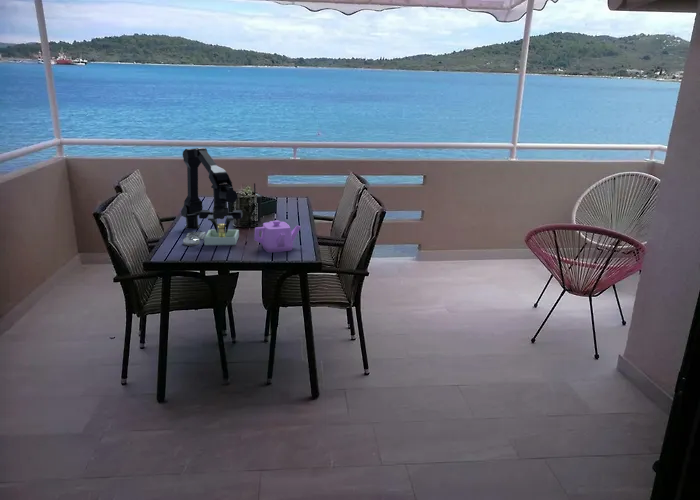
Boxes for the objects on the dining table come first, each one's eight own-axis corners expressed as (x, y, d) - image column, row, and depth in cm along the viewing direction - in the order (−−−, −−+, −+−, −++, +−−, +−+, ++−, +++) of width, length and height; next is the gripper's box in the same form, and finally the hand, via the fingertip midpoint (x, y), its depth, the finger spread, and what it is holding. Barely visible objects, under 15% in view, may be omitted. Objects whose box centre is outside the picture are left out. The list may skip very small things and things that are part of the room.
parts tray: (209, 236, 236) (209, 229, 235) (239, 236, 237) (238, 229, 236) (204, 245, 223) (204, 237, 222) (235, 245, 224) (235, 237, 223)
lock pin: (218, 235, 231) (217, 223, 229) (227, 235, 231) (226, 223, 230) (216, 238, 227) (216, 225, 225) (225, 238, 228) (225, 225, 226)
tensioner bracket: (189, 234, 238) (189, 229, 237) (205, 234, 238) (205, 229, 238) (181, 245, 221) (180, 240, 220) (198, 245, 222) (198, 240, 221)
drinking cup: (248, 222, 263) (247, 184, 257) (247, 219, 270) (246, 182, 264) (263, 222, 265) (262, 184, 259) (262, 218, 272) (261, 182, 266)
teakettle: (270, 240, 234) (270, 214, 230) (302, 245, 228) (302, 219, 224) (250, 250, 219) (249, 222, 215) (283, 255, 213) (283, 227, 209)
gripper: (195, 202, 215) (197, 237, 220) (239, 203, 217) (240, 237, 222) (200, 197, 226) (202, 230, 231) (242, 197, 228) (243, 230, 233)
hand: (221, 232), depth 229 cm, fingers open, 4 cm apart
